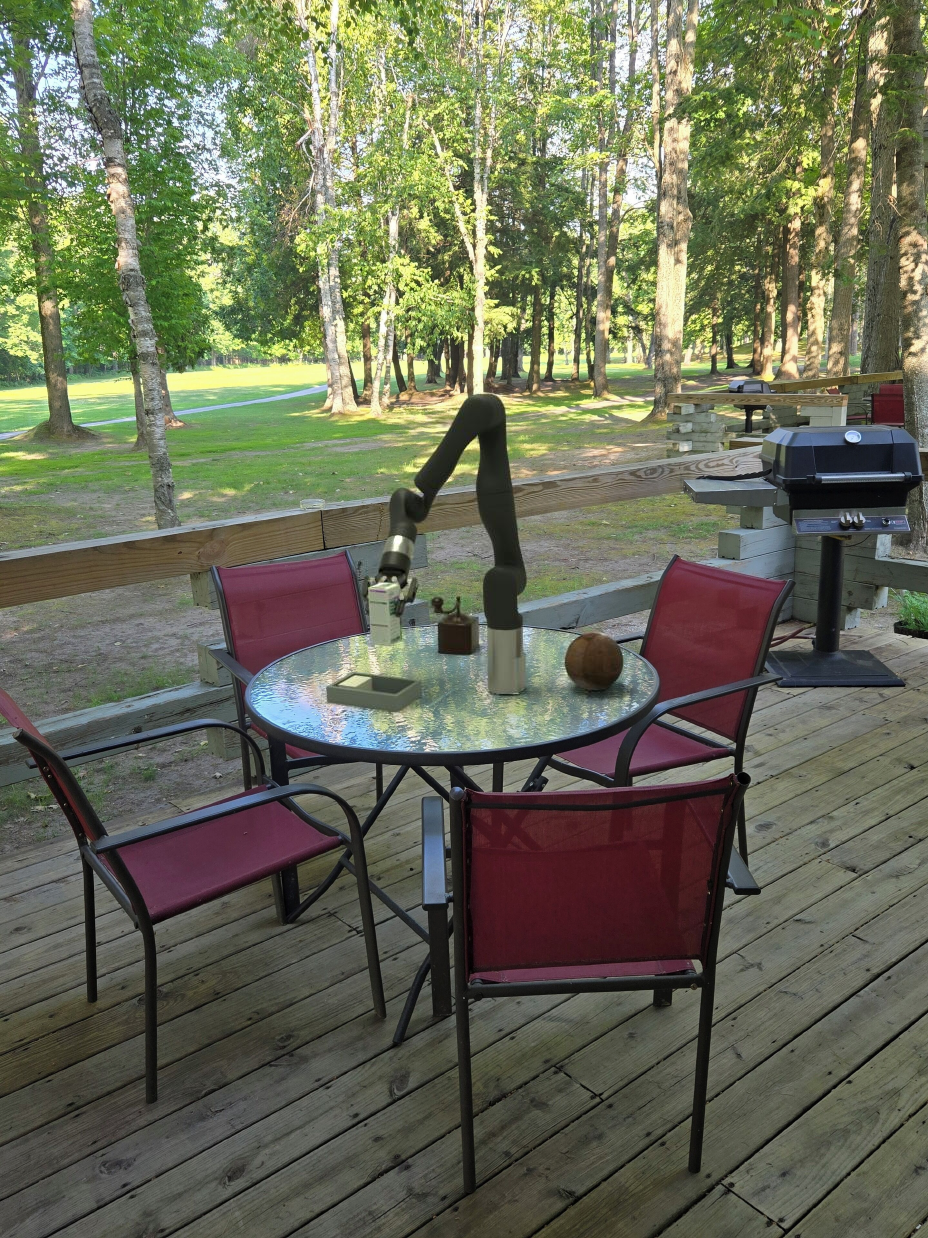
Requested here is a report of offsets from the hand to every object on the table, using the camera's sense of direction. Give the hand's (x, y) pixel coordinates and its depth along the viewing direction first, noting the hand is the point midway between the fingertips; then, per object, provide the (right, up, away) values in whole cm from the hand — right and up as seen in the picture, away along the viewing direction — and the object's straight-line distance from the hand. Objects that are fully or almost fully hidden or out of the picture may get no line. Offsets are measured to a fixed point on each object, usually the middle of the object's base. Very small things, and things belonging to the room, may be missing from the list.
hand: (383, 614), depth 219 cm
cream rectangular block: (-8, -21, +11) cm, 25 cm away
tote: (-3, -22, +9) cm, 24 cm away
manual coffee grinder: (+17, -11, +51) cm, 55 cm away
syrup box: (0, -7, +3) cm, 8 cm away
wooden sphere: (+53, -19, +16) cm, 59 cm away
